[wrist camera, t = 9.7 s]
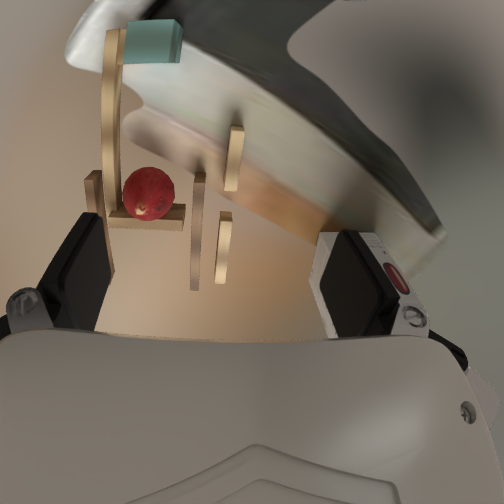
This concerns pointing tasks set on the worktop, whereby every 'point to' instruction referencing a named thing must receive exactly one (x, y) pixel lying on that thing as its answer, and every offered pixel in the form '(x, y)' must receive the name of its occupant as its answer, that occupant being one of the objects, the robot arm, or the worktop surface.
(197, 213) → the lane rails
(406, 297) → the supplement box
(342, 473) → the robot arm
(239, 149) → the broken strip
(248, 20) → the worktop surface
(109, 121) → the tan frame
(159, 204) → the onion
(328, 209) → the worktop surface
